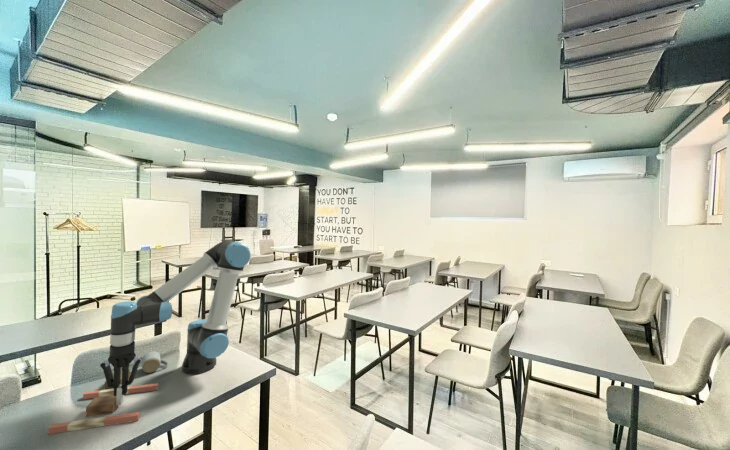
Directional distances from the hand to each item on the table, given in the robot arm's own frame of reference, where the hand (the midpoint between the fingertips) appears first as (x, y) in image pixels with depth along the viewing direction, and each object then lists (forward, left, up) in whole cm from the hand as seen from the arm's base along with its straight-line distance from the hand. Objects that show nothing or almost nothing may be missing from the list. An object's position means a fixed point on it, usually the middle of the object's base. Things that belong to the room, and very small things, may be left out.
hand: (120, 403), depth 113 cm
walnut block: (+5, +1, -2) cm, 5 cm away
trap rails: (+3, 0, -1) cm, 3 cm away
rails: (+5, 0, -1) cm, 6 cm away
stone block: (+7, -17, -2) cm, 19 cm away
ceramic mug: (-2, -30, -2) cm, 30 cm away
